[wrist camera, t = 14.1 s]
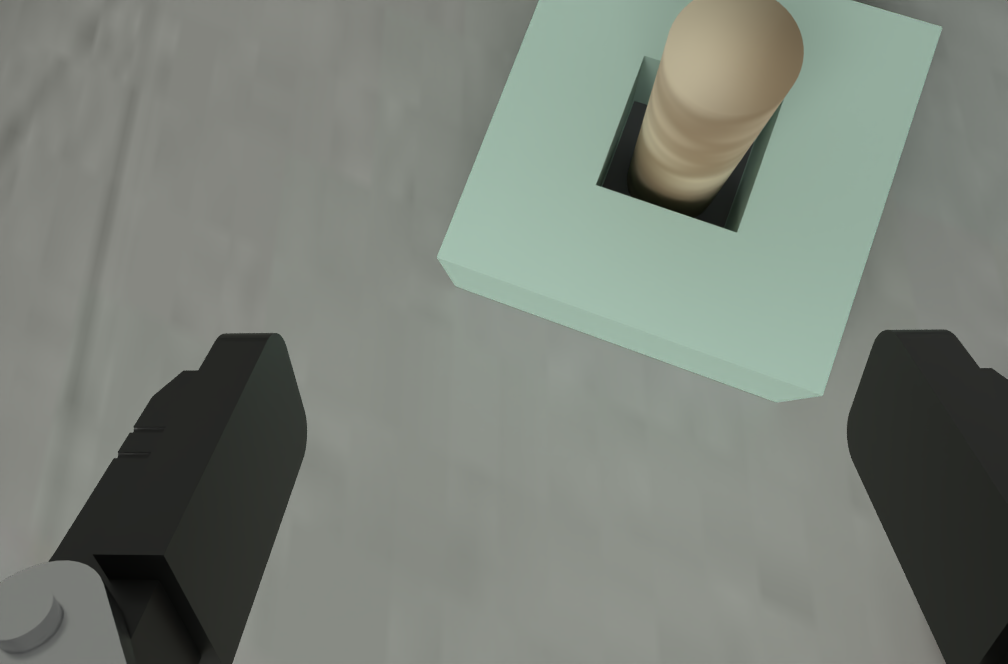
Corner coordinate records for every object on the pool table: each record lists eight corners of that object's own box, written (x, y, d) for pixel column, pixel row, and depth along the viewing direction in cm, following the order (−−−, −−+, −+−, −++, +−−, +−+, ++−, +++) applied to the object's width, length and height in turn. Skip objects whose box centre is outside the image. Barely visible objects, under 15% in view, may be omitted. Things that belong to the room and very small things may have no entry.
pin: (614, 206, 29) (647, 89, 19) (644, 125, 29) (691, -29, 20) (700, 235, 29) (779, 132, 19) (729, 153, 29) (821, 10, 19)
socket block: (455, 286, 31) (436, 257, 26) (568, -3, 32) (572, -83, 27) (776, 402, 29) (822, 395, 24) (879, 92, 31) (942, 26, 26)
